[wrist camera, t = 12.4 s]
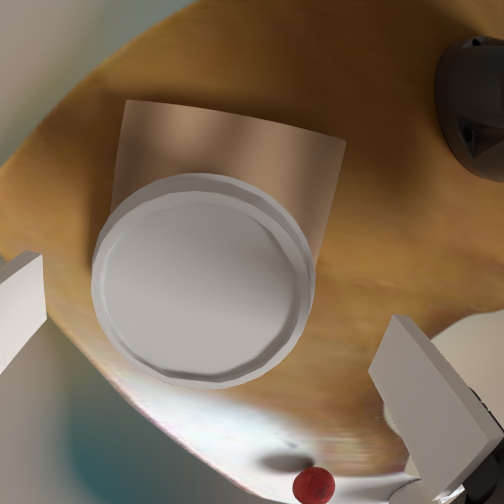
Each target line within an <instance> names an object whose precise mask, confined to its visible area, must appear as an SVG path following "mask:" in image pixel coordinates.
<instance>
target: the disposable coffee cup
mask: <svg viewBox="0 0 504 504" xmlns="http://www.w3.org/2000/svg"><path fill="white" fill-rule="evenodd" d="M315 276H316V274H315V269H314V263H313V257H312V253H311V250H310V248H309V245H308V242H307V240H306V238H305V236H304V234H303V232H302V231H301V229H300V227H299V225H298V224H297V222H296V221H295V220H294V218H293V217H292V216H291V215H290V214H289V213H288V211H287V210H286V209H285V208H284V207H283V206H281V205H280V204H279V203H278V202H277V201H276V200H275V199H273V198H272V197H271V196H270V195H268V194H266V193H265V192H263V191H262V190H260V189H258V188H257V187H255V186H253V185H250V184H248V183H246V182H244V181H241V180H238V179H236V178H232V177H228V176H224V175H217V174H211V173H187V174H179V175H175V176H171V177H167V178H164V179H160V180H157V181H154V182H152V183H150V184H148V185H146V186H144V187H142V188H140V189H139V190H137V191H136V192H134V193H133V194H132V195H130V196H129V197H128V198H126V199H125V200H124V201H122V203H121V204H120V205H119V206H118V207H117V208H116V209H115V211H114V212H113V213H112V214H111V215H110V216H109V218H108V220H107V221H106V223H105V225H104V226H103V228H102V230H101V232H100V233H99V236H98V239H97V243H96V246H95V250H94V254H93V257H92V283H91V295H92V299H93V304H94V308H95V312H96V316H97V320H98V322H99V324H100V326H101V327H102V329H103V331H104V333H105V334H106V336H107V338H108V339H109V341H110V343H111V345H112V346H113V347H114V348H115V349H116V350H117V351H118V352H119V353H120V354H121V355H122V356H123V357H124V358H125V359H126V360H127V361H128V362H129V363H131V364H132V365H133V366H135V367H136V368H138V369H139V370H140V371H142V372H143V373H146V374H148V375H150V376H152V377H154V378H157V379H159V380H161V381H164V382H166V383H168V384H171V385H175V386H180V387H185V388H190V389H210V390H211V389H220V388H228V387H232V386H236V385H240V384H243V383H245V382H248V381H250V380H253V379H255V378H258V377H260V376H262V375H263V374H264V373H266V372H267V371H269V370H270V369H272V368H273V367H274V366H276V365H277V364H279V363H280V362H281V361H282V360H283V359H284V358H285V357H286V355H287V354H288V353H289V352H290V351H291V350H292V349H293V347H294V346H295V344H296V342H297V341H298V339H299V337H300V336H301V334H302V332H303V330H304V327H305V324H306V321H307V318H308V315H309V313H310V310H311V306H312V303H313V299H314V294H315Z"/></svg>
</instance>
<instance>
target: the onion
mask: <svg viewBox="0 0 504 504" xmlns="http://www.w3.org/2000/svg"><path fill="white" fill-rule="evenodd" d="M334 491H335V482H334V479H333V476H332V474H330V473H329V472H328V471H327V470H325V469H323V468H319V467H311V466H310V467H307V468H305V469H304V470H303V471H302V472H301V473H300V474H299V475H298V476H297V477H296V478H295V480H294V482H293V494H294V496H295V498H296V499H297V500H298V501H299V502H300V503H302V504H326V503H327V502H328V501H329V500H330V499H331V497H332V495H333V493H334Z"/></svg>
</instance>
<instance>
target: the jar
mask: <svg viewBox="0 0 504 504" xmlns="http://www.w3.org/2000/svg"><path fill="white" fill-rule="evenodd" d="M389 504H442V503H441V501H440V499H437V500H434V501H432V500H431V498H430V496H429V494H428V491H427V489H426V487H425V485H424V483H423V481H422V479H421V480H416V481H413V482H411V483H409V484H406V485H404V486H403V487H401V488H400V489H398V490H396V491H395V492H394V493H393V494H392V495H391V497H390V500H389Z"/></svg>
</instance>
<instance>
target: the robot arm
mask: <svg viewBox="0 0 504 504" xmlns="http://www.w3.org/2000/svg"><path fill="white" fill-rule="evenodd" d="M435 99H436V107H437V113H438V117H439V121H440V124H441V128H442V131H443V133H444V136H445V138H446V140H447V142H448V144H449V146H450V148H451V150H452V152H453V153H454V155H455V156H456V158H457V159H458V160H459V161H460V163H461V164H462V165H463V166H464V167H465V168H466V169H467V170H469V171H470V172H471V173H473V174H474V175H476V176H478V177H480V178H483V179H487V180H491V181H495V182H504V40H502V39H498V38H493V37H487V36H473V37H469V38H466V39H463V40H460V41H457V42H455V43H453V44H452V45H451V46H450V47H449V48H448V49H447V50H446V51H445V52H444V54H443V56H442V58H441V60H440V62H439V65H438V68H437V73H436V80H435ZM46 319H47V316H46V307H45V297H44V285H43V268H42V254H40V253H36V252H32V251H27V250H26V251H24V252H23V253H21V254H20V255H18V256H16V257H15V258H13V259H12V260H10V261H9V262H7V263H6V264H5V265H3V266H1V267H0V374H1V373H2V372H3V370H4V369H5V368H6V367H7V365H8V364H9V363H10V362H11V360H12V359H13V358H14V357H15V355H16V354H17V353H18V352H19V351H20V349H21V348H22V347H23V346H24V345H25V343H26V342H27V341H28V340H29V339H30V337H31V336H32V335H33V334H34V333H35V332H36V331H37V329H38V328H39V327H40V326H41V325H42V324H43V323H44V321H45V320H46ZM368 372H369V374H370V376H371V378H372V380H373V382H374V384H375V386H376V388H377V390H378V391H379V393H380V395H381V397H382V399H383V401H384V403H385V405H386V407H387V409H388V411H389V413H390V415H391V417H392V419H393V421H394V423H395V425H396V427H397V429H398V431H399V433H400V435H401V437H402V439H403V441H404V443H405V445H406V447H407V449H408V451H409V453H410V455H411V457H412V460H413V462H414V463H415V466H416V468H417V470H418V472H419V474H420V476H421V479H422V481H423V483H424V485H425V487H426V489H427V491H428V494H429V496H430V498H431V500H432V501H434V500H437V499H440V498H443V497H446V496H449V495H451V494H452V493H453V492H454V491H455V490H456V489H457V488H458V487H459V486H460V485H461V484H462V485H463V486H464V488H465V490H464V491H463V492H462V493H461V494H460V495H459V496H458V497H457V498H456V499H454V500H453V501H452V502H451V503H450V504H504V430H503V428H502V427H501V425H500V424H499V423H498V422H497V420H496V419H495V417H494V416H493V415H492V414H491V412H490V411H488V408H487V407H486V406H485V404H484V403H482V400H481V399H480V398H479V397H478V395H477V394H476V393H475V392H474V391H473V390H472V389H471V388H469V387H468V386H467V384H466V383H465V382H464V381H463V379H462V378H461V377H460V376H459V374H458V373H457V372H456V371H455V370H454V368H453V367H452V366H451V365H450V363H449V362H448V361H447V360H446V359H445V358H444V356H443V355H442V354H441V353H440V351H439V350H438V349H437V348H436V347H435V346H434V344H433V343H432V342H431V341H430V340H429V339H428V337H427V336H426V335H425V334H424V333H423V332H422V330H421V329H420V328H419V327H418V326H417V325H416V324H415V322H414V321H413V320H412V319H411V318H410V317H409V316H406V315H397V314H393V316H392V318H391V320H390V323H389V325H388V328H387V330H386V332H385V335H384V337H383V339H382V341H381V344H380V346H379V348H378V350H377V353H376V355H375V357H374V359H373V361H372V363H371V365H370V368H369V370H368Z"/></svg>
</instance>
